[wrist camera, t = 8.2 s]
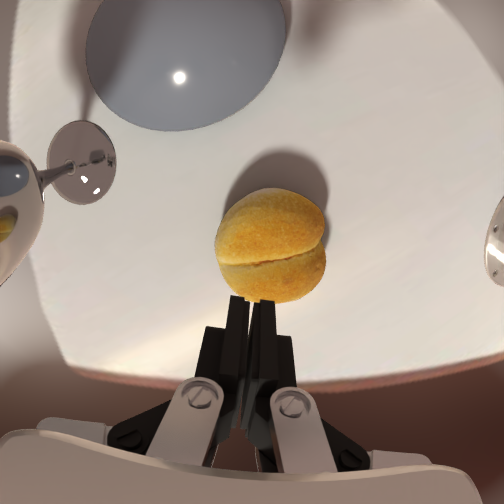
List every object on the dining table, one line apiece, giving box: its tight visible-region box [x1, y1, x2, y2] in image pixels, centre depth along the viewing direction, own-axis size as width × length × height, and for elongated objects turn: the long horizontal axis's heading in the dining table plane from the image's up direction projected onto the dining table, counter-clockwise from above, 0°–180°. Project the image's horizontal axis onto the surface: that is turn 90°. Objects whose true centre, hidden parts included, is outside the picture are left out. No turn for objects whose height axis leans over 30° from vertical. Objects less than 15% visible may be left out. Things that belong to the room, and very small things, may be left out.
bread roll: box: [215, 188, 326, 304], centre depth 23 cm, size 8×9×4 cm
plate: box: [86, 0, 286, 131], centre depth 17 cm, size 14×14×2 cm
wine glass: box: [0, 121, 116, 286], centre depth 15 cm, size 8×8×15 cm
